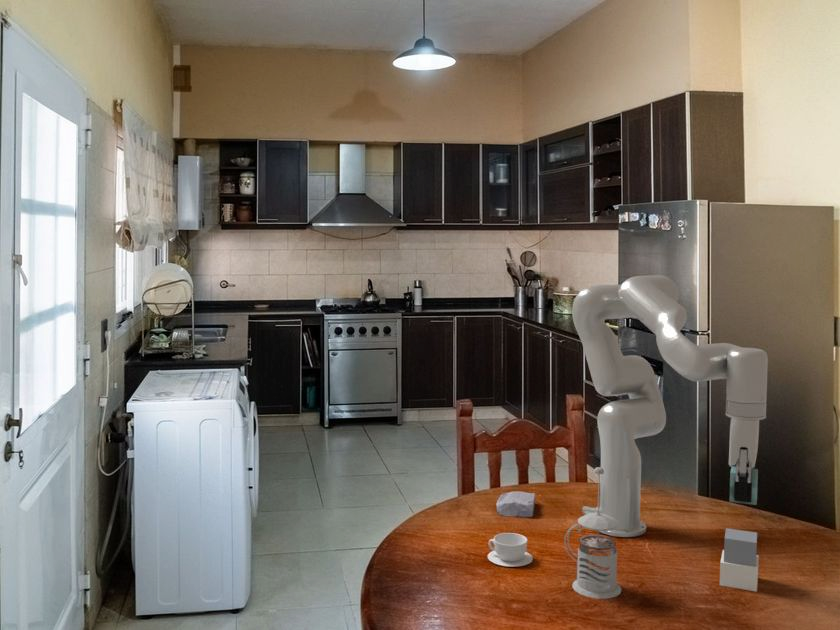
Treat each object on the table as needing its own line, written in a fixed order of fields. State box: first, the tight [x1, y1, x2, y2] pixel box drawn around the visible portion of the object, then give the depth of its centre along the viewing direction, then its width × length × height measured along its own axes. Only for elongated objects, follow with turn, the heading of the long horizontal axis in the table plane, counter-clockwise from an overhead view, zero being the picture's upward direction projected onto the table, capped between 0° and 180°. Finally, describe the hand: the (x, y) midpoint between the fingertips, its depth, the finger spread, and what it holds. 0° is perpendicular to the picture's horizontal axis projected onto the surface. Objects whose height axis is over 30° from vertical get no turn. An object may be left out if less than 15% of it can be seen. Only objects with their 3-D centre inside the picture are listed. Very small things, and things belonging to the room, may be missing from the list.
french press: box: [564, 466, 622, 600], centre depth 157 cm, size 10×12×25 cm
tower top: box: [723, 527, 758, 567], centre depth 160 cm, size 6×6×5 cm
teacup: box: [487, 532, 534, 568], centre depth 172 cm, size 10×10×5 cm
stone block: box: [495, 490, 536, 518], centre depth 204 cm, size 12×5×10 cm
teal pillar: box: [729, 465, 759, 506], centre depth 158 cm, size 5×5×6 cm
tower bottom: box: [719, 549, 760, 592], centre depth 160 cm, size 7×7×5 cm
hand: (743, 496), depth 158 cm, fingers closed on teal pillar, 4 cm apart
